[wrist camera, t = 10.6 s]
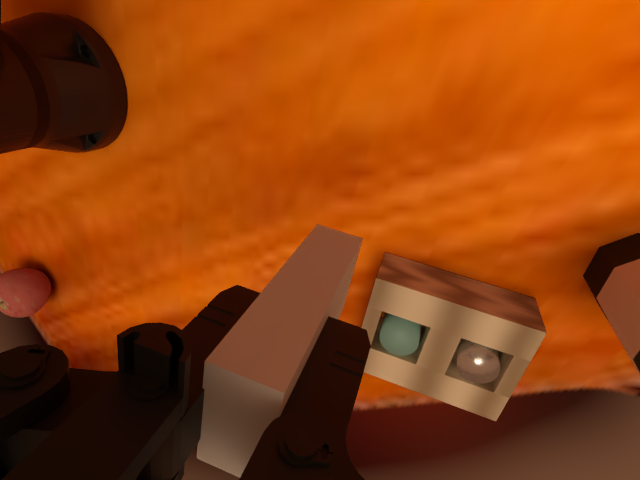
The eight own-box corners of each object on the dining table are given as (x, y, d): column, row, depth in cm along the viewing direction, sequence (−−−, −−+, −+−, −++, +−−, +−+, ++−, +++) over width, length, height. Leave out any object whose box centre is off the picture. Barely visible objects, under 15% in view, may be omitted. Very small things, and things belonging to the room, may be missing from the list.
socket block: (360, 334, 50) (349, 366, 44) (385, 252, 44) (376, 277, 39) (491, 380, 47) (495, 421, 41) (535, 298, 41) (546, 333, 36)
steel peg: (451, 340, 45) (451, 374, 40) (463, 312, 44) (464, 345, 39) (486, 352, 45) (491, 389, 40) (500, 324, 43) (506, 359, 38)
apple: (67, 279, 62) (18, 307, 55) (57, 307, 66) (10, 336, 59) (30, 250, 62) (-24, 274, 55) (22, 279, 66) (-30, 305, 59)
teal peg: (384, 316, 47) (375, 347, 42) (392, 289, 45) (385, 317, 40) (417, 328, 46) (412, 360, 41) (427, 300, 44) (424, 331, 39)
